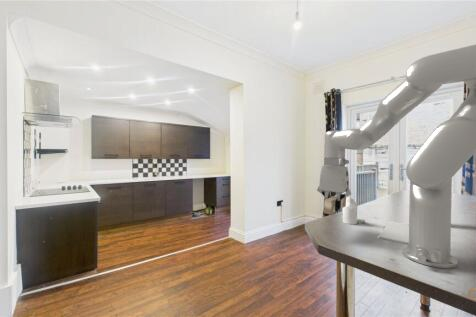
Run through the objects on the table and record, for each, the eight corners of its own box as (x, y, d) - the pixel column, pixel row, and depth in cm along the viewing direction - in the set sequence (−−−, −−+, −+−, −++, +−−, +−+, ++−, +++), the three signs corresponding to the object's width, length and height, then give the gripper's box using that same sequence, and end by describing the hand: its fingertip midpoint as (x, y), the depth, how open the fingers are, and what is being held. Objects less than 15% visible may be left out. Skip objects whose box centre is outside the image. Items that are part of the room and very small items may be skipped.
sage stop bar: (363, 223, 101) (363, 220, 101) (340, 218, 108) (340, 216, 108) (364, 222, 102) (364, 219, 102) (342, 218, 109) (342, 215, 109)
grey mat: (408, 244, 77) (408, 242, 77) (378, 238, 83) (378, 236, 83) (414, 226, 96) (414, 225, 96) (389, 222, 102) (389, 220, 102)
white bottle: (357, 196, 103) (357, 198, 98) (357, 222, 103) (357, 225, 98) (343, 195, 105) (342, 197, 101) (342, 220, 106) (342, 223, 101)
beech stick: (330, 214, 81) (331, 201, 81) (324, 213, 83) (324, 200, 83) (345, 206, 95) (346, 194, 94) (339, 205, 96) (340, 193, 96)
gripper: (359, 163, 83) (358, 211, 84) (317, 161, 94) (316, 204, 95) (354, 164, 78) (352, 215, 78) (310, 162, 88) (309, 207, 89)
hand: (333, 209), depth 86 cm, fingers closed on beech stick, 2 cm apart
